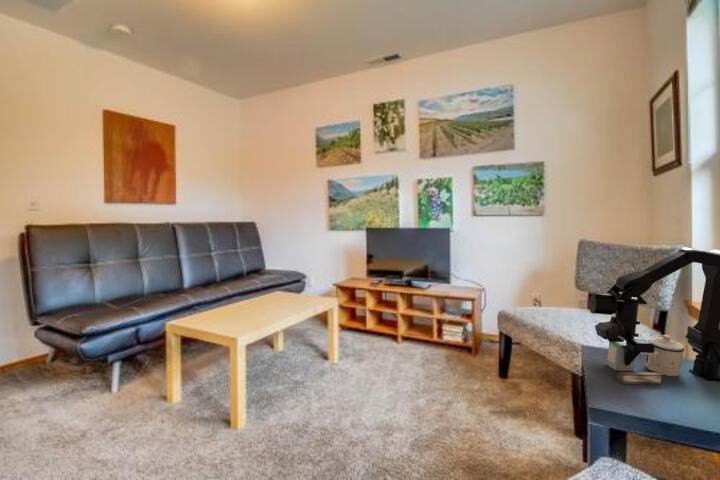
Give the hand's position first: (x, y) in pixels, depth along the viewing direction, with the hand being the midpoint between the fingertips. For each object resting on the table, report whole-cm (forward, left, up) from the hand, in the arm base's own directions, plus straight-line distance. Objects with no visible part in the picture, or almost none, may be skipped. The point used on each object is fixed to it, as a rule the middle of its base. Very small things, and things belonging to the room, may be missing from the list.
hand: (620, 361), depth 120 cm
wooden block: (+1, +10, -2) cm, 10 cm away
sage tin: (0, 0, -2) cm, 2 cm away
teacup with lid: (-11, +2, -2) cm, 12 cm away
